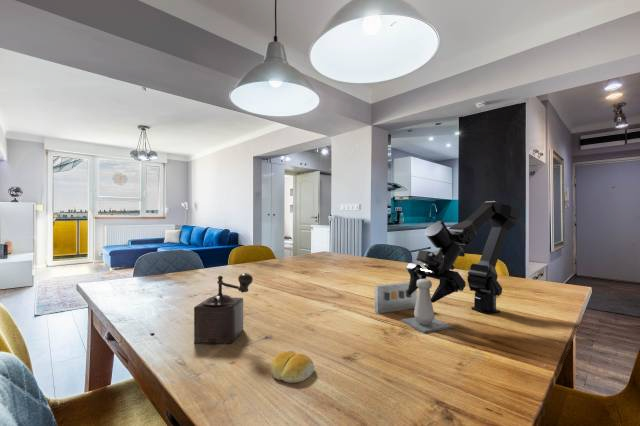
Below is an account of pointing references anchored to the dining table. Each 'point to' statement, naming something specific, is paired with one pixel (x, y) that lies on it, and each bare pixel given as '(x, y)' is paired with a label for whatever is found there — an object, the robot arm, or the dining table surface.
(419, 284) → the salt shaker
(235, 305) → the manual coffee grinder
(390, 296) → the breaker panel
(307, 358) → the bread roll
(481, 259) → the robot arm
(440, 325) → the slate pad
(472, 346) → the dining table surface
